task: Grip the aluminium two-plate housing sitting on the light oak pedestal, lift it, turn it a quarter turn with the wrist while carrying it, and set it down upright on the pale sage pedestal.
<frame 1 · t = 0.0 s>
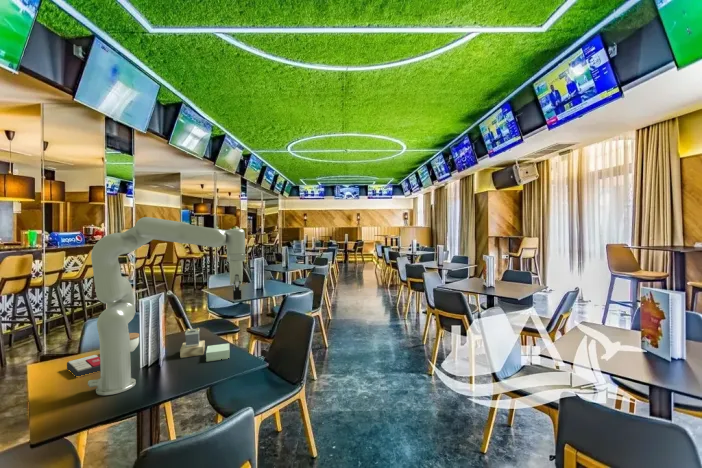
hand: (237, 297, 144), 31 cm above the table, tool pointing down, fingers open, 9 cm apart
housing: (192, 344, 166), point 4 cm above the table, touching stand a
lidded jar: (127, 351, 170), on the table
stand a: (193, 352, 166), on the table
stand b: (218, 356, 160), on the table
red and grey box: (87, 370, 148), on the table
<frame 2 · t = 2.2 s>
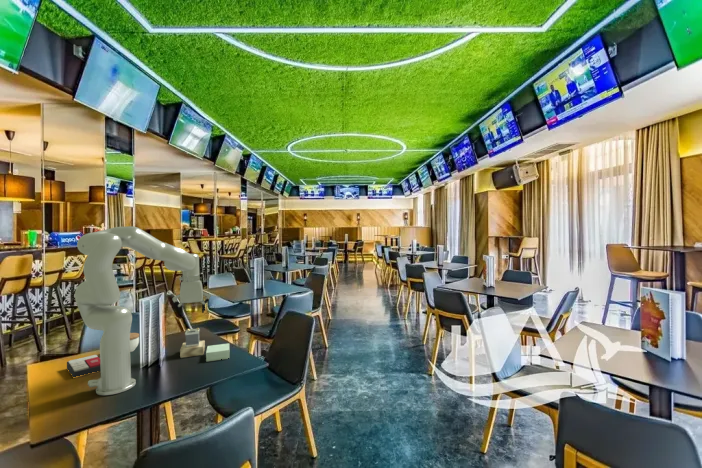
hand: (192, 313, 166), 20 cm above the table, tool pointing down, fingers open, 9 cm apart
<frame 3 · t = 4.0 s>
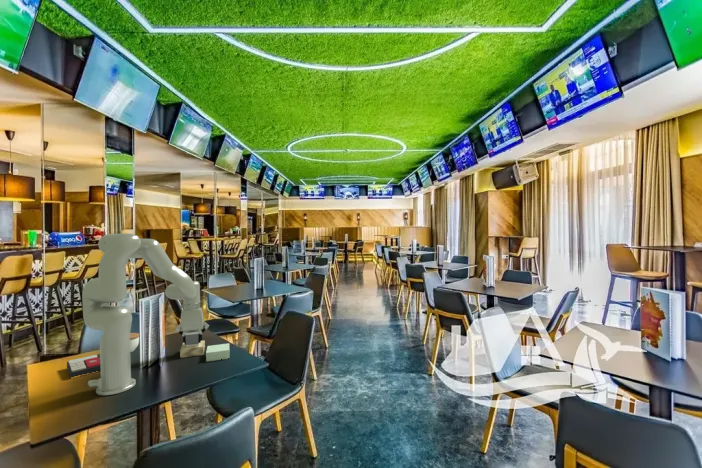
hand: (192, 342, 166), 5 cm above the table, tool pointing down, fingers closed on housing, 5 cm apart
housing: (192, 344, 166), point 4 cm above the table, touching gripper, stand a
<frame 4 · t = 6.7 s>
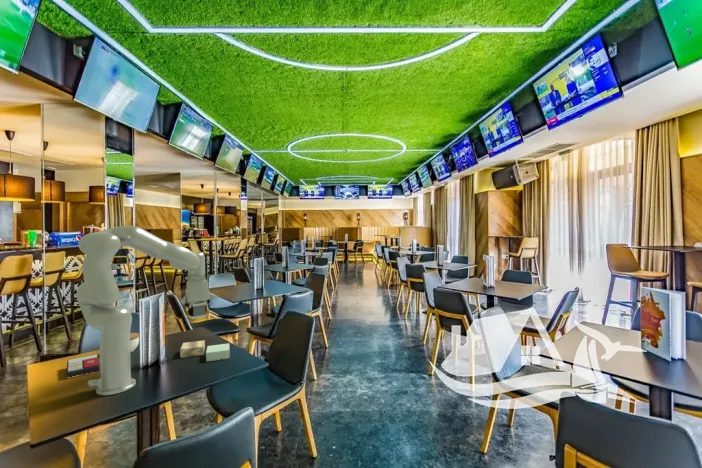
hand: (197, 314, 164), 19 cm above the table, tool pointing down, fingers closed on housing, 5 cm apart
housing: (197, 316, 164), point 18 cm above the table, touching gripper
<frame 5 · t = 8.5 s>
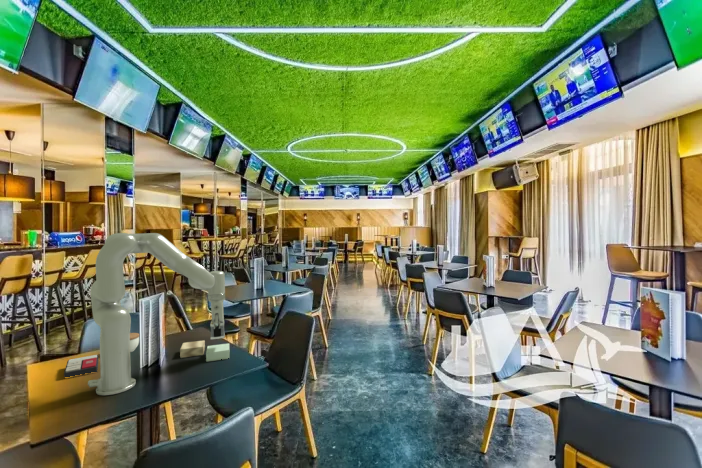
hand: (217, 334, 160), 11 cm above the table, tool pointing down, fingers closed on housing, 5 cm apart
housing: (217, 336, 160), point 9 cm above the table, touching gripper
when the fingers open (6 cm above the table, at t = 9.8 s): housing drops 1 cm, resting on stand b.
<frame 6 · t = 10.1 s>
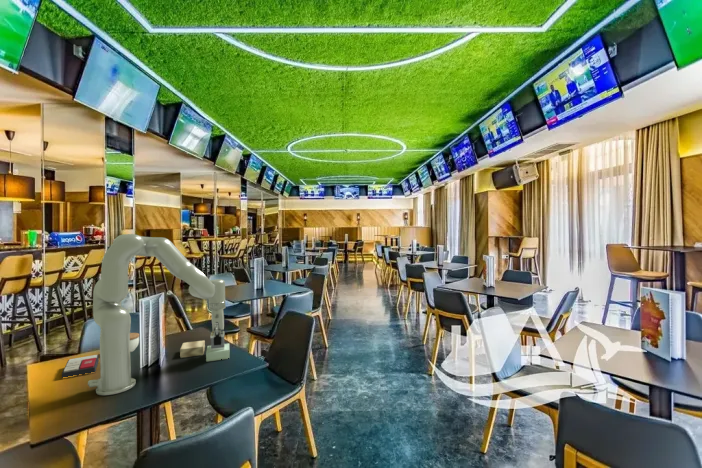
hand: (217, 341, 160), 7 cm above the table, tool pointing down, fingers open, 8 cm apart
housing: (217, 348, 160), point 4 cm above the table, touching stand b
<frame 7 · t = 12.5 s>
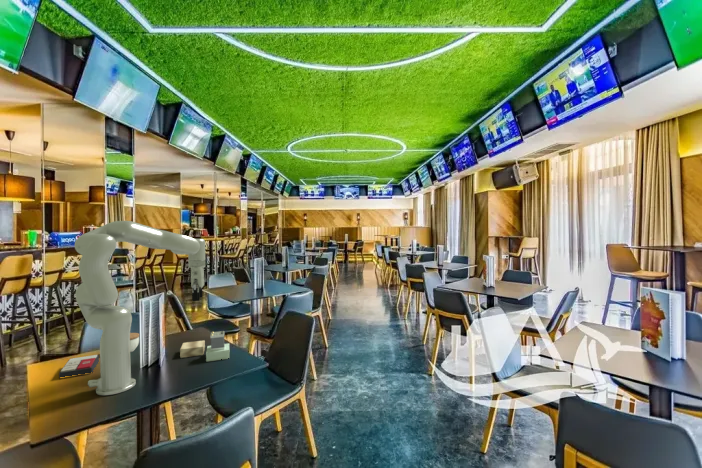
hand: (197, 299, 163), 27 cm above the table, tool pointing down, fingers open, 9 cm apart
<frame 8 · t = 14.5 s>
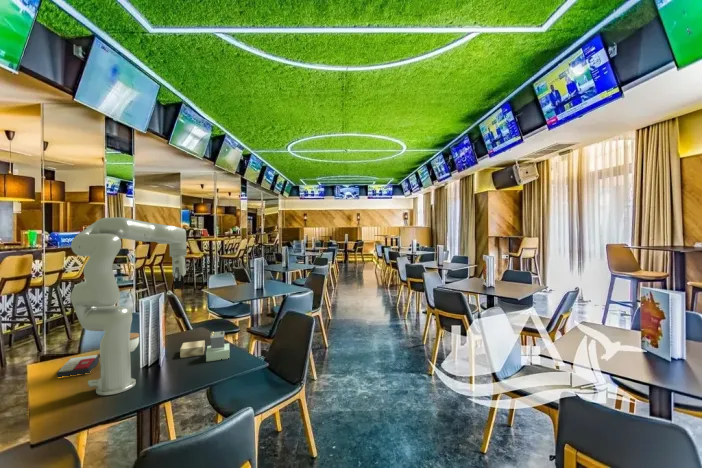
hand: (179, 287, 167), 32 cm above the table, tool pointing down, fingers open, 9 cm apart
at the end: housing 0.1 cm off-centre on the stand b, point 4.0 cm above the stand b's base; housing tilted 0°; the gripper is holding nothing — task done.
